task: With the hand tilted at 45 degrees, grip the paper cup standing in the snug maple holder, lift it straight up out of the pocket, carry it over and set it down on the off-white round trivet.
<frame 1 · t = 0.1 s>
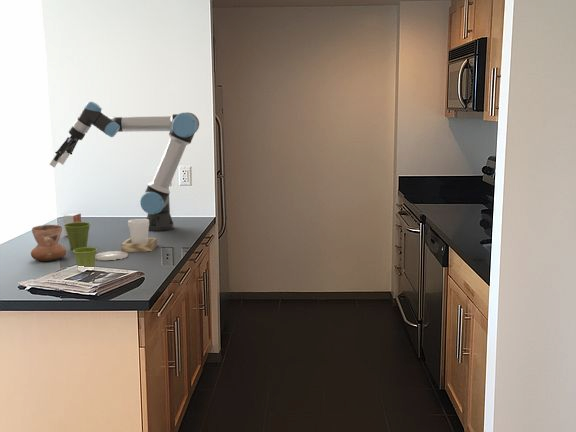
hand: (56, 164, 337), 36 cm above the worktop, tool tilted 35°, fingers open, 13 cm apart
small box: (73, 235, 343), on the worktop
holder: (140, 248, 310), on the worktop
plant pot 2: (78, 248, 312), on the worktop
plant pot: (86, 271, 271), on the worktop
ceramic jug: (49, 259, 291), on the worktop
trivet: (111, 257, 293), on the worktop
foam cup: (140, 248, 310), resting in holder
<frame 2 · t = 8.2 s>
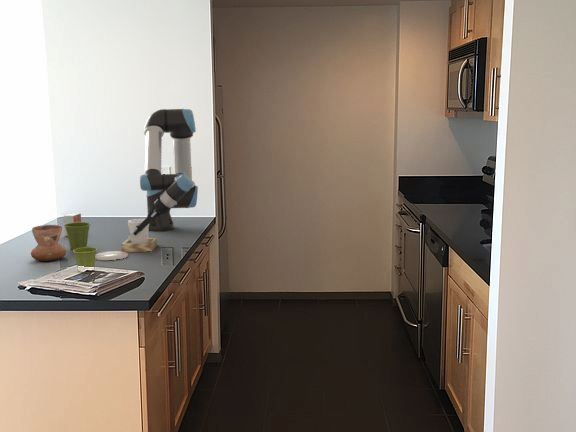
hand: (132, 237, 309), 5 cm above the worktop, tool tilted 45°, fingers closed on foam cup, 9 cm apart
foam cup: (140, 248, 310), resting in holder, touching gripper
everything else where it was.
when the fingers open (7 cm above the worktop, at t = 14.4 s): foam cup stays where it is, resting on trivet.
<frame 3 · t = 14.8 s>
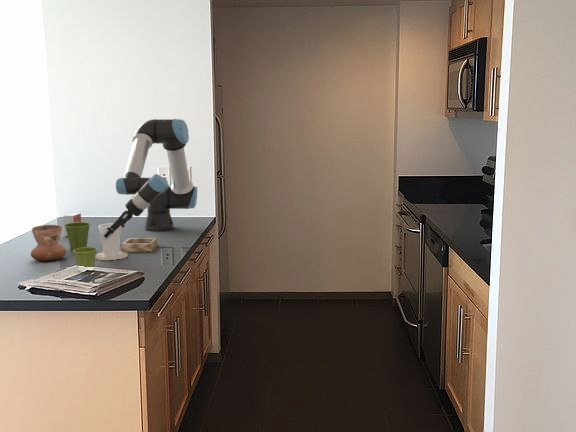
hand: (105, 238, 292), 8 cm above the worktop, tool tilted 45°, fingers open, 13 cm apart
foam cup: (111, 255, 293), point 1 cm above the worktop, touching trivet
everything else where it was.
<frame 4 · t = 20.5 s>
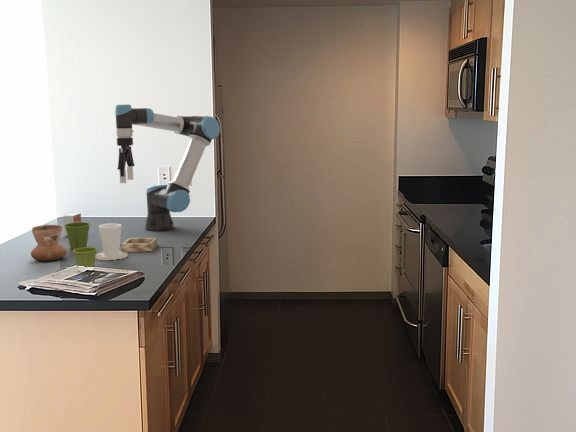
hand: (127, 181, 324), 29 cm above the worktop, tool pointing down, fingers open, 13 cm apart
nothing on the worktop moved.
at the end: foam cup 0.1 cm from the trivet (horizontally); foam cup tilted 0°; foam cup point 0.8 cm above the worktop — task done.
